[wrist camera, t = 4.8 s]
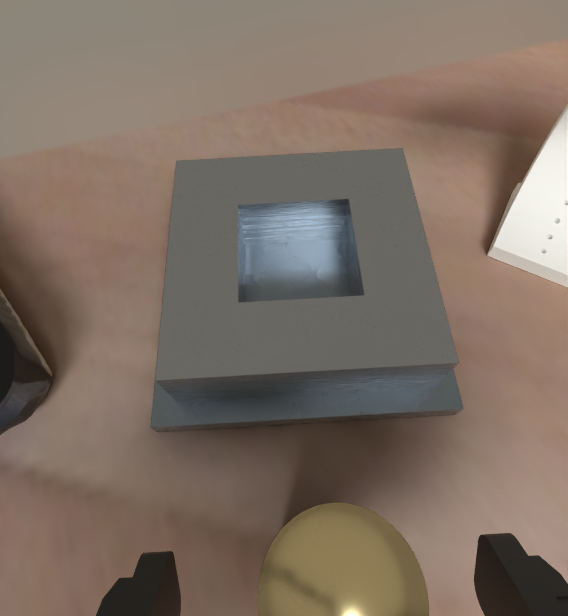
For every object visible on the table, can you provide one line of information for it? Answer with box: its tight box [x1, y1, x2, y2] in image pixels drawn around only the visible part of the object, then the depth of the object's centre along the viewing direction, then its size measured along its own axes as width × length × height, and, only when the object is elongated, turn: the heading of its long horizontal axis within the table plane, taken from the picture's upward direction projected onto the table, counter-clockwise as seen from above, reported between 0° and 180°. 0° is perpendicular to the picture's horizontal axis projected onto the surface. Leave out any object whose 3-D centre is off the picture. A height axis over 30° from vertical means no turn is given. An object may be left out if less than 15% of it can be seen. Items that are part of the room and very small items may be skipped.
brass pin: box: [258, 503, 429, 616], centre depth 12 cm, size 3×3×10 cm
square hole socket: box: [151, 148, 463, 432], centre depth 19 cm, size 13×13×4 cm
